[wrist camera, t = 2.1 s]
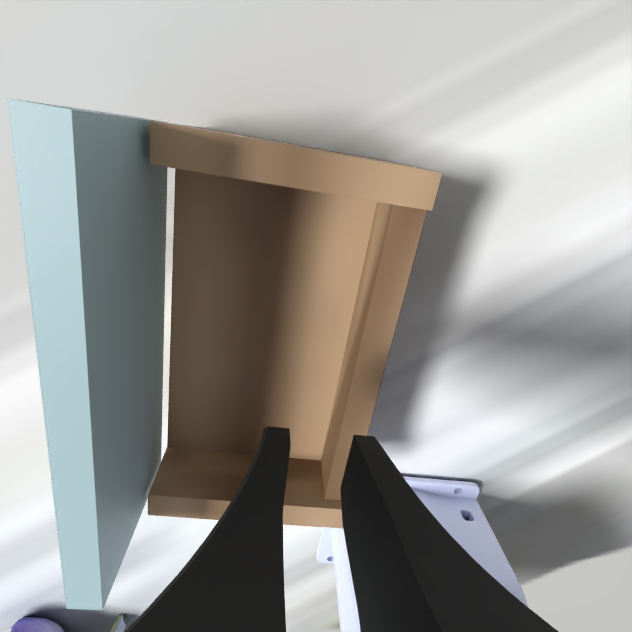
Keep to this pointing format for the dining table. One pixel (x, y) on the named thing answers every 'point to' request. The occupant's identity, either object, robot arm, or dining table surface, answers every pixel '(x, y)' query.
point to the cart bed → (278, 311)
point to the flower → (35, 628)
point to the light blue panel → (94, 324)
